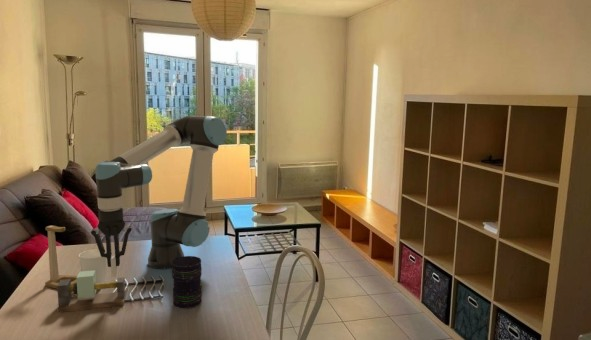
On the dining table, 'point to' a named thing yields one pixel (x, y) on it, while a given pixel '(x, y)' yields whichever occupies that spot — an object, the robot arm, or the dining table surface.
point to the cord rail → (97, 301)
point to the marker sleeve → (86, 284)
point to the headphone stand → (55, 259)
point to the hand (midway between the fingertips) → (114, 274)
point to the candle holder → (94, 264)
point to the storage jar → (187, 282)
